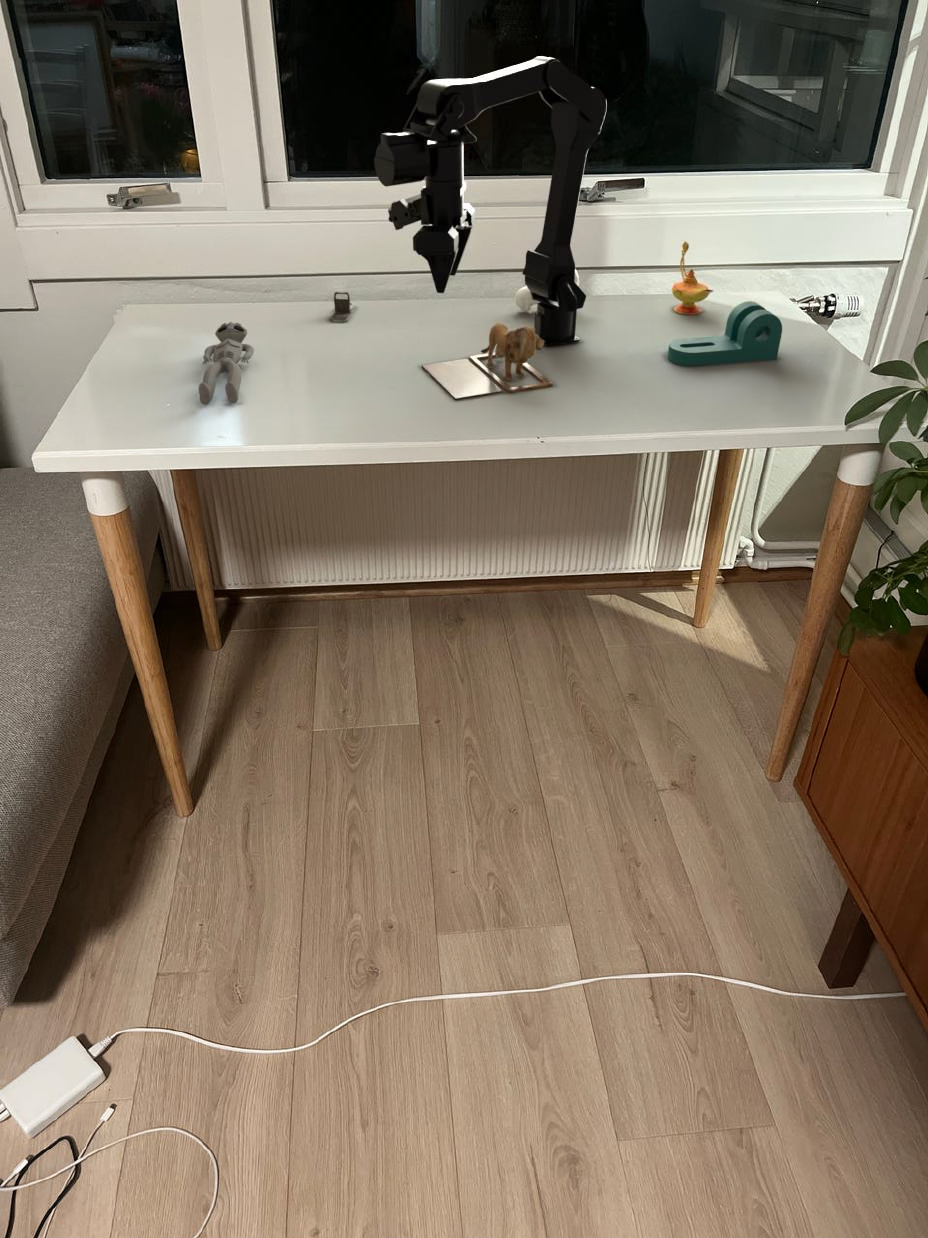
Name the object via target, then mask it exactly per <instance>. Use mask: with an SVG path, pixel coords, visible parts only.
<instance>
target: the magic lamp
mask: <svg viewBox="0 0 928 1238" xmlns="http://www.w3.org/2000/svg"><path fill="white" fill-rule="evenodd" d="M681 247H682V250H681V258H680V262H679V267H680V274H681V279H682V281H679V282H676V283H674V284H673V285H672V287H671V293H672V295H673V296H674V298H675V299H677V300H678V301H680V302H682V303H681V304H680V305H678V306H675V307H674V308H673V311H674V312H675V313H678V314H682V315H688V316H689V315H698V314H701V312H702V309H701V308H699V306H697V305H696V303H699V302H700V303H701V302H702V301H704V300H705V299H707V298H708V297H709V295H710V294H711V293H713V292H714V289H709V286H707V285H706V284H704V283H701V282H698V279H697V277H696V276H695V271H694V269H693V268H690V269H689V270H688V271H686V267H685V265H686V264H685V255H686V253H687V252H688V251H689V249H690V244H689V243H688V242H687V241H686V240H684V242H683V243H682V245H681Z"/></svg>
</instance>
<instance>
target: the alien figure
mask: <svg viewBox="0 0 928 1238" xmlns="http://www.w3.org/2000/svg"><path fill="white" fill-rule="evenodd" d="M214 333H215V334H214V335H215V337H216V338H217V339H218V340H219V343H218V344H212V345H209V346H207V347H206V348H205V350H204V353H203V357H202V358H203V361H202V366H204V365H205V364H206V365H207V363H208V364H210V362H213V363H212V364H210V365H209V366H208V367H207V368H206V369H205V371H204V374H203V376H202V377H203V378H202V382H200V383H199V385H198V395H199V396H198V397H199V401H200V403H201V404H203V405H209V404H210V403H211V402H212V400H213V398H214V393H215V390H216V384H217V378H218V377H219V375H220V374H223V373H225V374H228V377H227V381H226V384H225V387H224V388H225V389H224V392H225V396H226V398H227V401H228V402H229V403H230V404H237V402H238V401H239V393H240V387H241V381H242V370H241V368H240V366H239V365H238V363H239V362H240V361H241V363H246V364H249V360H250V359H252V356H253V355H254V351H255V350H254V347H253V346H252V345H251V344H248V343H243V342H244V340H245V338H246V336H247V335H248V330H247V329H246V328H245V327H243V326H242V323H239V322H232V321H230V322H228V323H227V322H224V323H222V324H221V325H220V326H219V327H218V328H217V329H216V330H215V332H214ZM243 352H245V353H244V354H243V356H242V353H243Z"/></svg>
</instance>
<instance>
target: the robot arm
mask: <svg viewBox="0 0 928 1238" xmlns="http://www.w3.org/2000/svg"><path fill="white" fill-rule="evenodd" d="M536 93H538V94H539V96H540V98H541V99H542V101H544V102H545V103H546V104H547V105H548V106H549V107H550V108H551V122H550V123H551V124H550V126H551V129H552V134H553V136H554V141H555V154H554V160H553V168H552V172H551V179H550V185H549V192H548V197H547V204H546V210H545V215H544V222H543V228H542V235H541V238H540V242H539V243H538V244H537V246H536V247H535V249H534V250H531V249H527V250H526V254H525V264H524V268H523V270H522V272H521V273H522V275H523V276H524V285H525V286H527V287H528V289H529V290H530V292H531V296H532V299H533V300H536V301H538V302H541V303H537V304H536V312H534V315H533V318H534V319H533V328H535V333H536V334H537V335H538V336H539V337H540V338H541V339H543V340H544V341H545V342H544V344H543V346H546V347H552V346H553V347H554V346H560V345H567V344H573V343H579V342H580V338H579V337H578V336H576V329H577V328H576V327H577V315H578V314H577V313H578V310H579V309H583V308H584V305H585V302H586V299H587V295H586V294H585V292H584V291H583V290H582V289H581V288H580V286H579V287H578V285H577V284H576V283H575V269H576V261H575V258H574V254H573V250H572V238H573V235H574V234H573V233H574V227H575V222H576V216H577V210H578V206H579V200H580V193H581V188H582V183H583V178H584V177H583V176H584V172H585V165H586V161H587V154H588V151H589V149H590V148H591V146H592V145H593V143H595V141H596V140H597V138H598V137H599V135H600V133H601V130H602V126H603V123H604V121H605V117H606V113H607V106H608V103H607V98H605V95H604V93H603V91H602V90H600V89H599V88H598V87H594V86H591V85H590V84H589V83H588V82H587V81H585V80H584V79H582V78H581V77H579V76H578V75H577V74H576V73H574V72H572V71H571V70H569V68H567V67H566V66H565V65H564V64H563V62H561V61H560V59H557V58H554V57H550V56H549V57H547V56H543V55H541V56H536V57H534V58H532V59H530V60H528V61H525V62H522V63H519V64H516V65H515V64H514V65H511V66H508V67H505V68H503V69H498V70H495V71H492V72H489V73H485V74H482V75H479V76H476V77H473V78H441V79H430V80H428V81H426V82H424V83H423V84H421V86H420V90H419V92H418V94H417V97H416V98H417V99H416V103H415V105H414V106H413V108H412V111H411V113H410V115H409V117H408V118H407V120H406V122H405V125H404V126H403V128H402V132H396V133H393V132H384V133H381V134H380V143H379V144H378V145H377V147H376V151H375V156H374V158H373V162H374V170H375V173H376V176H377V179H378V180H379V182H380V183H381V185H383V186H384V187H386V188H387V187H394V186H399V185H406V184H407V185H408V184H414V183H419V182H423V181H424V179H425V182H424V183H425V184H424V185H423V187H422V188H421V189H420V193H419V194H416V195H413V196H410V197H408V198H405V199H404V198H403V197H402V198H400V199H398V200H394V201H392V202H391V206H390V207H389V208H388V209H387V212H388V221H389V223H392V224H393V226H394V229H395V231H400V230H402V229H404V227H406V226H409V225H412V224H415V223H418V222H419V221H420V225H421V227H420V229H418V231H417V232H416V233H415V234H414V235H413V236H412V250H413V252H415V253H416V254H417V255H418V256H421V257H422V258H423V259H425V260H426V262H427V265H428V267H429V270H430V273H431V277H432V280H433V281H432V282H433V284H434V288H435V291H436V293H437V294H445V291H446V288H447V285H448V283H449V280H450V276H451V277H453V276H456V274H457V272H458V269H459V266H460V264H461V261H462V258H463V255H464V253H465V250H466V248H467V245H468V243H469V240H470V237H471V234H472V233H473V232H472V231H473V230H474V225H475V224H476V209H475V208H474V207H473V206H472V204H471V203H465V191H466V190H467V182H466V181H464V180H465V178H464V177H465V176H464V175H465V173H464V172H465V171H464V170H465V167H464V165H465V164H464V163H465V162H464V161H465V159H464V144H472V143H475V142H477V137H476V136H475V134H473V133H472V132H471V131H470V130H469V128H468V127H467V124H469V123H471V122H473V121H475V120H476V119H477V118H478V117H479V116H480V114H481V113H482V112H484V111H486V110H487V109H490V108H492V107H496V106H499V105H502V104H505V103H508V102H511V101H514V100H517V99H520V98H524V97H527V96H530V95H534V94H536ZM427 124H428V125H427ZM465 222H467V225H466V224H465Z"/></svg>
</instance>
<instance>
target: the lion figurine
mask: <svg viewBox="0 0 928 1238" xmlns="http://www.w3.org/2000/svg"><path fill="white" fill-rule="evenodd" d="M544 342H545V341H544V340H543V339H541V338H540V337H539V336H538V335H537V334H536V333H535V328H534V326H526V325H525V326H523V327H520V328H516V329H513V330H510V331H509V328H508V327H507V325H506V324H504V323H500V322H497V323H495V324H494V325H492V327H491V328H490V331H489V335H488V346H487V347H486V348H484V349H483V348H482V350H480V352H481V353H482V354H488V358H487V362H486V367H487V368H488V367H489V368H491V367H494V362H493V358H496V359H502V358H503V359H504V381H505V382H511V381H513V375H512V365H513V364H516V367H515V375H516V377H518V378H524V377H525V372H522V368H523V367H522V365H523V364H524V363H528V360H530V359H532V358H533V357H534V356H536V352H538V353H539V352H541V349H542V348H543V347H544ZM494 350H495V351H494ZM493 353H495V357H493ZM502 355H503V356H502Z"/></svg>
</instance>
